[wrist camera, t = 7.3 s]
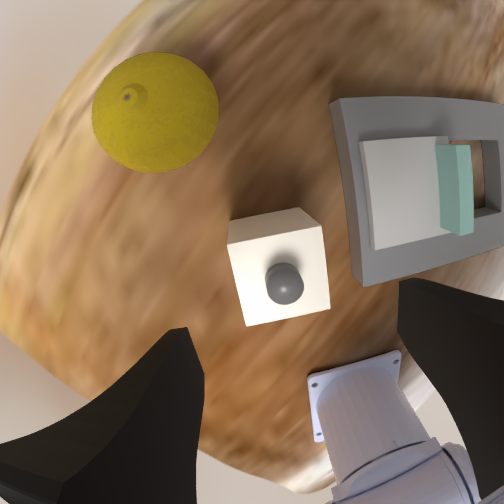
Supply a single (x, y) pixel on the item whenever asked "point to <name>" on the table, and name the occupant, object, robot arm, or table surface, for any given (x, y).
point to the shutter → (417, 189)
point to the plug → (278, 265)
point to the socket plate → (407, 126)
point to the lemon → (155, 112)
